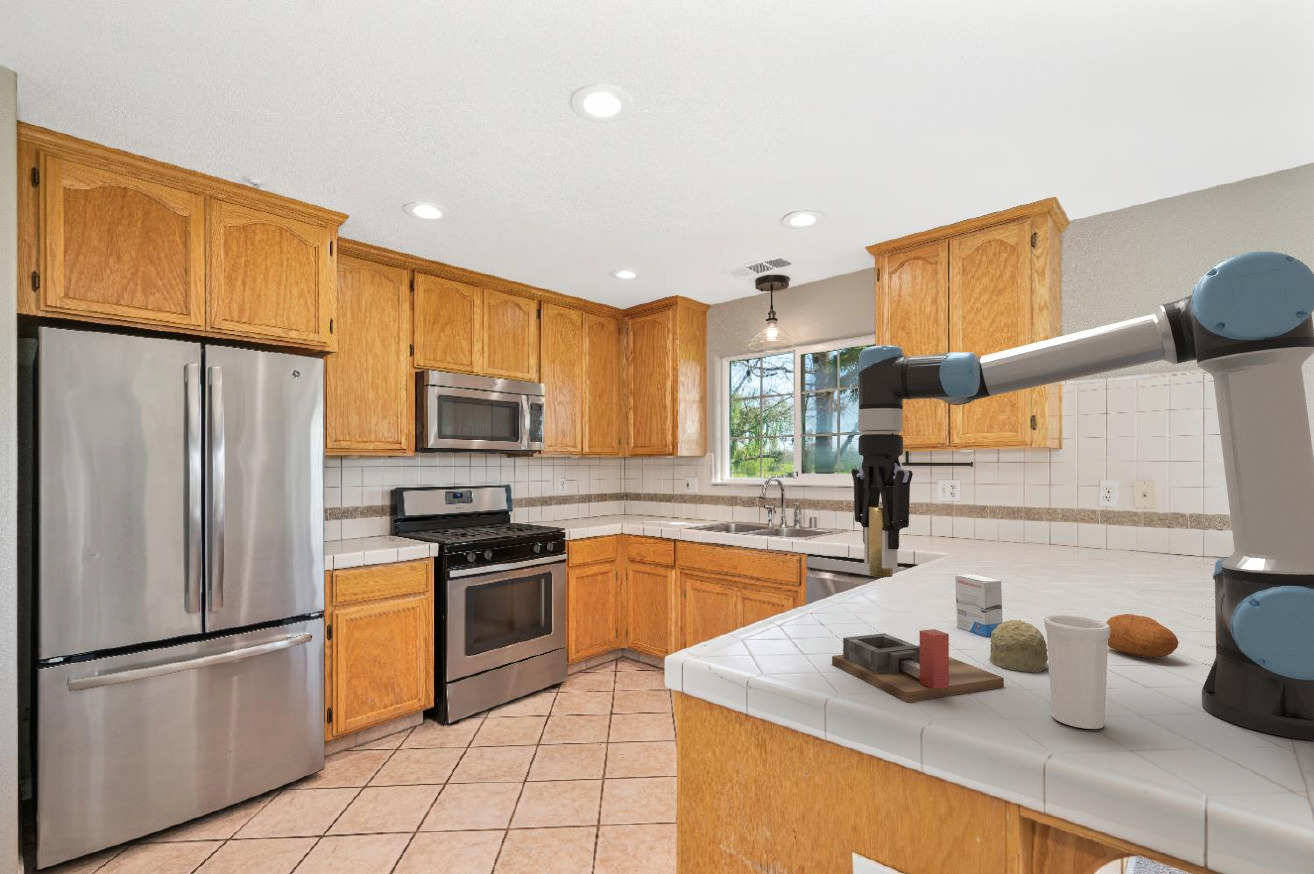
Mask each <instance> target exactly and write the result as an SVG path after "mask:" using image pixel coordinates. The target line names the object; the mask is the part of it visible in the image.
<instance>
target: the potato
mask: <svg viewBox="0 0 1314 874" xmlns="http://www.w3.org/2000/svg"><path fill="white" fill-rule="evenodd" d="M1105 623H1107V624H1108V625H1109V626H1110V628H1111V631H1110V637H1109V639H1108V648H1109V649H1113V651H1118V652H1121V653H1123V654H1127V655H1131V656H1136V657H1140V658H1141V657H1142V658H1149V659H1161V658H1165V657H1167V656H1169V655H1172V654H1173V652H1174V651H1175V650H1176V649H1177V648H1178V647H1179V646H1178V645H1179V642H1180V641H1179V640H1178V638H1177V636H1176V634H1175V633H1174V632H1173V631H1172V630H1171V629H1169V628H1167V627H1165V626H1164V625H1162V624H1161V623H1159V622H1158V621H1156V620H1155V619H1153V618H1152V617H1149V616H1144V615H1137V614H1133V613H1132V614H1131V613H1124V614H1118V615H1115V616H1111V617H1109V618H1108V620H1107V621H1106V622H1105Z"/></svg>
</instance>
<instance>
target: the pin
mask: <svg viewBox="0 0 1314 874" xmlns="http://www.w3.org/2000/svg"><path fill="white" fill-rule="evenodd" d="M949 636H950V635H949V633H947V632H944V631H941V630H939V629H935V628H933V629H923V630H922V629H921V630H919V645H920V664H919V663H916V662H914V661H912V660H909V659H907V658H904V659H899V670H901V671H903V672H906V673H908V674H910V675H912V676H915V677H917V678H919V679H920V683H922V684H924V685H926V686H928V687H931V688H933V689H937V688H944V687H949V657H950V647H949V646H950V637H949Z"/></svg>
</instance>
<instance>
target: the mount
mask: <svg viewBox="0 0 1314 874" xmlns="http://www.w3.org/2000/svg"><path fill="white" fill-rule="evenodd" d="M842 638H843V639H842V641H843V643H842V644H843V645H842V646H843V647H842V648H843V649H842V654H835V655H831V664H832V665H834V666H835V667H837V668H839V669H840V670H843V671H845V672H847V673H849V674H851V675H852V676H855V677H856V678H858V679H860V680H862V681H864V682H866V683H868V684H870V685H872V686H874V687H876V688H878V689H880V690H882V691H884V692H886V693H888V694H889V695H891V696H894V697H896V698H897V699H899V700H902V701H903V702H906V703H910V702H917V701H922V700H929V699H935V698H944V697H949V696H956V695H960V694H961V695H962V694H967V693H969V694H970V693H974V692H981V691H986V690H994V689H1000V688H1005V677H1004V676H1003V677H1002V676H1001V675H997V674H995V673H992V672H990V671H988V670H985V669H982V668H980V667H977V666H974V665H971V664H969V663H967V662H964V661H961V660H958V659H956V658H953V657H951V656H949V687H944V688H937V689H933V688H931V687H928V686H926V685H924V684H922V683H920V679H919V678H917V677H915V676H912V675H910V674H908V673H906V672H903V671H901V670H899V659H904V658H907V659H909V660H912V661H914V662H916V663H919V664H920V644H919V645H915V644H914V643H911V642H909V641H906V640H903V639H900V638H897V637H895V636H893V635H890V634H887V633H885V632H883V633H876V634H874V633H873V634H867V635H866V634H865V635H857V636H856V635H855V636H846V637H842Z"/></svg>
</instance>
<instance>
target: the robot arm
mask: <svg viewBox="0 0 1314 874" xmlns="http://www.w3.org/2000/svg"><path fill="white" fill-rule="evenodd" d="M1313 312H1314V272H1313V270H1312V269H1311V268H1310V267H1309V266H1308V265H1307V264H1306V263H1304V262H1303V261H1302V260H1300V259H1298V258H1296V257H1293V256H1292V255H1288V254H1285V253H1282V252H1277V251H1276V252H1275V251H1265V250H1264V251H1263V250H1262V251H1261V250H1260V251H1250V252H1246V253H1241V254H1238V255H1234V256H1232V257H1230V258H1227V259H1225V260H1223V261H1221V262H1220V263H1218V264H1216V265H1215V266H1213V268H1211V269H1209V270H1208V271H1207V272H1206V273H1205V274H1204V275H1203V276H1202V277H1201V278H1199V280H1198V281H1197V283H1196V284H1195V286H1194V289H1193V291H1192V294H1191V295H1189V296H1185V297H1184V298H1181V299H1178V300H1174V301H1171V302H1168V303H1167V302H1166V303H1163V304H1159V305H1158V306H1157V307H1156V309H1155V310H1154V311H1153V312H1152V313H1150V314H1147V315H1141V316H1138V317H1134V318H1130V319H1127V320H1122V321H1119V322H1113V323H1110V324H1106V325H1102V326H1098V327H1094V328H1089V329H1086V330H1081V331H1078V332H1073V333H1070V334H1066V335H1062V336H1061V335H1060V336H1058V337H1054V338H1049V339H1046V340H1045V339H1044V340H1040V341H1038V342H1037V341H1036V342H1034V343H1030V344H1029V343H1028V344H1024V345H1021V346H1017V347H1013V348H1008V349H1005V350H1001V351H997V352H993V353H988V354H985V355H984V354H983V355H981V356H977V355H976V353H974V352H972V351H967V352H966V351H964V352H963V351H962V352H961V351H960V352H958V351H950V352H945V353H936V354H935V353H934V354H927V355H926V354H925V355H917V356H916V355H914V356H912V355H911V356H907V355H904V353H903V352H904V350H903V349H902V347H901V346H897V345H890V344H889V345H888V344H887V345H875V346H873V345H872V346H868V347H865V348H863V349H862V350H861V351H860V353H859V357H858V372H857V380H858V382H857V384H858V389H857V390H858V410H857V411H858V413H857V414H858V415H857V417H858V418H857V419H858V420H857V423H858V424H857V431H858V432H860V433H861V435H860V434H859V436H858V439H857V440H858V441H857V442H858V443H857V444H858V445H857V446H858V452H857V453H858V454H859V455H860V456H862V457H863V459H862V463H861V466H860V467H859V468H852V469H851V476H852V481H853V500H854V502H853V506H854V509H853V510H854V521H855V522H856V523H860V524H861V527H862V542H863V545H864V549H863V550H864V551H863V552H864V553H863V554H864V555H863V557H864V560H863V562H864V564H865V565H869V507H870V506H879V505H880V498H881V506H882V507H883V514H884V521H885V527H883V528H882V529H883V530H882V568H885V569H886V568H893V569H897V568H898V550H899V548H900V531H901V530H902V529H905V528H909V525H910V499H911V498H910V497H911V496H910V495H911V494H910V493H911V492H910V491H911V490H910V489H911V482H912V478H913V474H914V473H913V471H912V470H911V469H910V470H906V469H904V468H903V467H902V466H901V465H902V464H901V463H900V459H899V458H900V456H902V455H903V454H904V436H903V435H902V434H900V433H901V432H902V431H903V430H904V429H903V428H904V426H903V425H904V421H903V420H904V419H903V418H904V417H903V416H904V414H903V413H904V411H903V410H904V406H903V404H904V400H925V399H926V400H928V399H930V400H932V399H936V400H940V401H942V402H944V403H947V404H949V405H952V406H961V405H962V406H963V405H967V404H970V403H971V402H973V401H976V400H979V399H984V398H985V399H986V398H989V397H994V396H998V395H1003V394H1008V393H1013V392H1017V391H1021V390H1026V389H1031V388H1036V387H1040V386H1046V385H1050V384H1055V383H1060V382H1065V381H1069V380H1074V379H1078V378H1083V377H1084V378H1085V377H1088V376H1094V375H1097V374H1098V375H1099V374H1102V373H1103V374H1104V373H1107V372H1112V371H1116V370H1122V369H1127V368H1131V367H1136V366H1141V365H1145V364H1151V363H1155V362H1159V361H1164V362H1168V363H1170V364H1172V365H1177V364H1182V363H1187V362H1192V361H1196V363H1197V365H1196V366H1197V367H1198V368H1200V369H1201V370H1203V371H1205V372H1206V373H1208V374H1210V376H1212V377H1213V384H1214V385H1213V386H1214V393H1215V401H1216V411H1217V417H1218V425H1219V427H1218V428H1219V434H1220V442H1221V450H1222V451H1221V452H1222V457H1223V466H1224V475H1225V483H1226V493H1227V499H1228V500H1227V501H1228V507H1229V515H1230V524H1231V530H1232V540H1233V549H1234V551H1233V552H1232V554H1231V555H1229V556H1228V557H1222V558H1221V557H1220V558H1219V559H1217V560H1216V561H1215V564H1214V572H1213V574H1212V579H1213V580H1214V604H1215V605H1214V606H1215V607H1214V608H1215V609H1214V610H1215V611H1214V612H1215V618H1214V619H1215V658H1214V661H1213V663H1212V666H1211V668H1210V670H1209V672H1208V674H1207V677H1206V680H1205V682H1204V684H1203V686H1202V689H1201V706H1202V708H1203V709H1204V710H1205V711H1207V712H1208V713H1210V714H1211V715H1213V716H1215V717H1217V718H1219V719H1221V720H1224V721H1226V722H1229V723H1232V724H1235V725H1237V726H1241V727H1243V728H1244V727H1245V728H1248V729H1250V730H1254V731H1259V732H1263V733H1266V734H1271V735H1275V736H1281V737H1285V738H1286V737H1287V738H1293V739H1299V740H1308V741H1314V449H1313V443H1312V435H1311V429H1310V421H1309V419H1310V418H1309V414H1308V406H1307V398H1306V391H1305V385H1304V384H1305V383H1304V375H1303V368H1302V366H1303V365H1304V363H1305V362H1306V361H1307V360H1309V358H1310V357H1312V355H1313V354H1314V321H1313V315H1312V314H1313ZM892 521H893V522H892Z"/></svg>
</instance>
